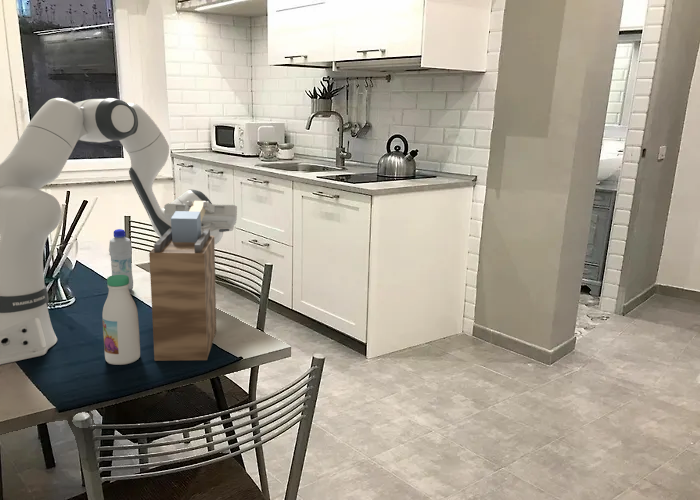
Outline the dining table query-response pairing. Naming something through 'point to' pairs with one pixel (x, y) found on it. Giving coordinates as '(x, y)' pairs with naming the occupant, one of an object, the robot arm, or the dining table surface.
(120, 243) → the bottle
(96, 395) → the dining table surface
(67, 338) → the dining table surface
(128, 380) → the dining table surface
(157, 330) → the walnut stand
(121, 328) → the milk bottle
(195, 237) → the block with handle
